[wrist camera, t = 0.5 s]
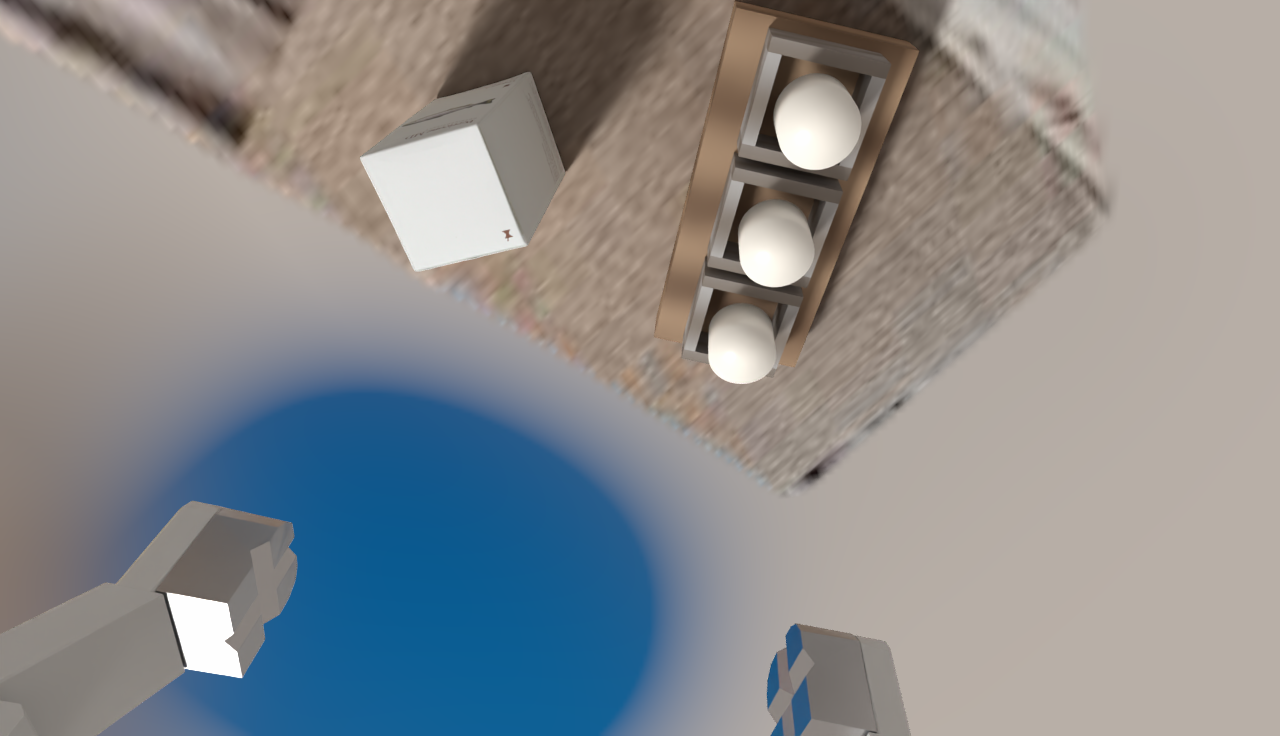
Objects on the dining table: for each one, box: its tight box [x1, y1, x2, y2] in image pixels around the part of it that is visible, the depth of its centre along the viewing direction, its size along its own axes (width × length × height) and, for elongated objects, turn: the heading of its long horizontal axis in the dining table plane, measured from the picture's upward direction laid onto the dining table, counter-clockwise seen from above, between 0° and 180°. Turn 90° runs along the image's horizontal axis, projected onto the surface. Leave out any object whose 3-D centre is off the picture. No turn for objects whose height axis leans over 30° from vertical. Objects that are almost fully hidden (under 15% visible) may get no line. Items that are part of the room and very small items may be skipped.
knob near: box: [773, 73, 861, 170], centre depth 40 cm, size 4×4×3 cm
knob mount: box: [654, 1, 919, 378], centre depth 48 cm, size 23×11×6 cm, turn 169°
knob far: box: [708, 303, 776, 384], centre depth 48 cm, size 4×4×3 cm
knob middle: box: [738, 199, 814, 287], centre depth 44 cm, size 4×4×3 cm
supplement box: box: [360, 72, 565, 271], centre depth 45 cm, size 7×7×13 cm
